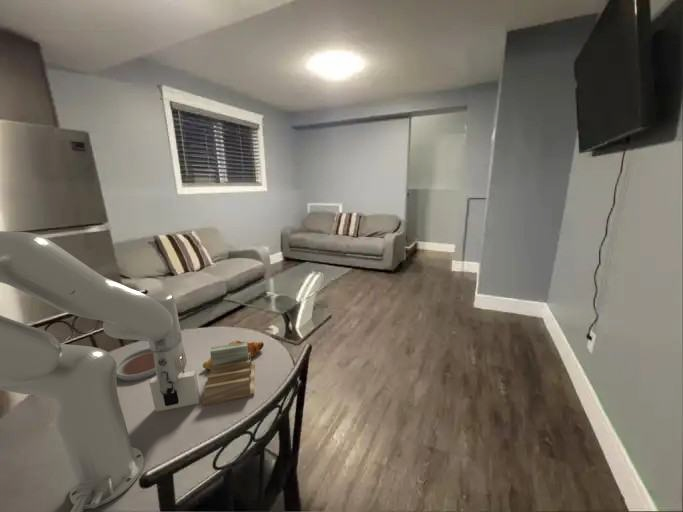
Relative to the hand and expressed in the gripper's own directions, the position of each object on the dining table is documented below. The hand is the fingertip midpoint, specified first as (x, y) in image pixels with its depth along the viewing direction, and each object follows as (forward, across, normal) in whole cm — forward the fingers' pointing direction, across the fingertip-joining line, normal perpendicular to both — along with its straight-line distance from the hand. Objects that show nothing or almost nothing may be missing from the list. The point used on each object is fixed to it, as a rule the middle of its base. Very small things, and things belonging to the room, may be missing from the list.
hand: (176, 393), depth 81 cm
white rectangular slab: (+4, 0, 0) cm, 4 cm away
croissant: (+4, +18, -14) cm, 23 cm away
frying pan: (+4, +21, +21) cm, 30 cm away
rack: (+4, +5, -14) cm, 15 cm away
